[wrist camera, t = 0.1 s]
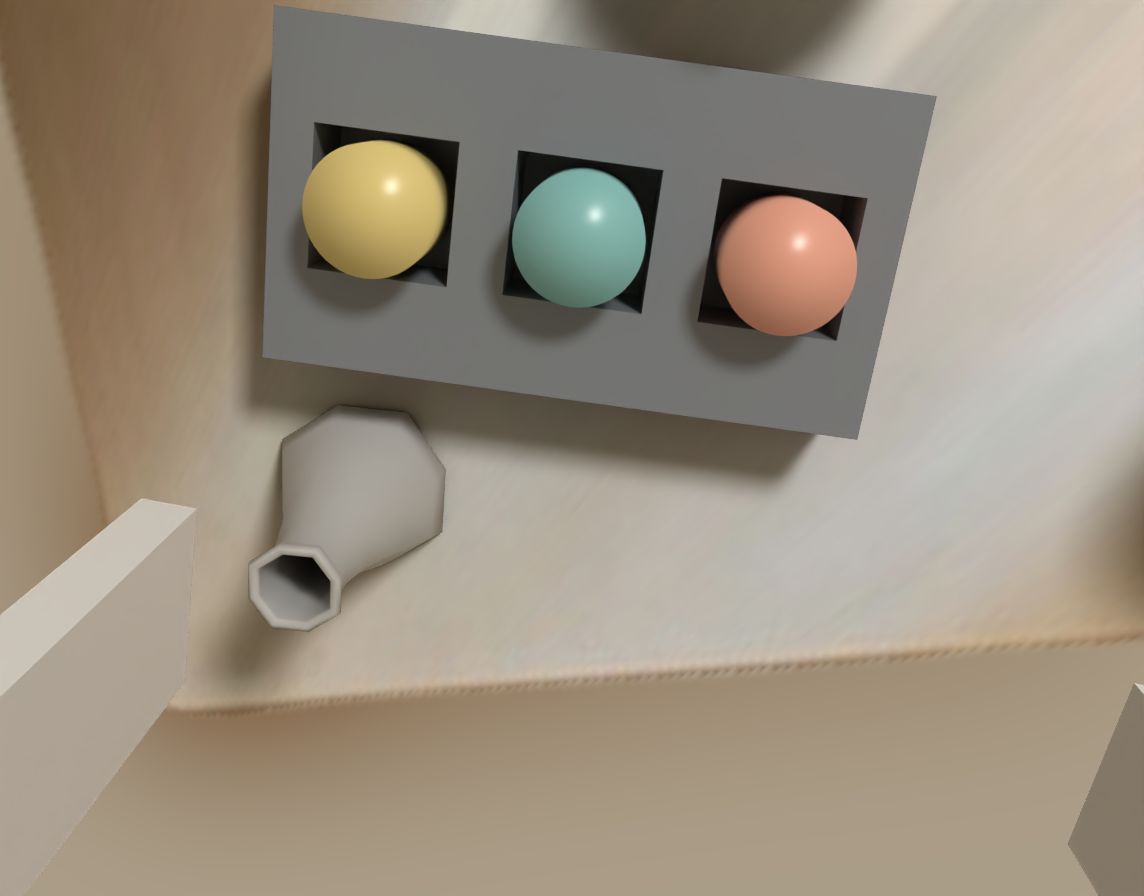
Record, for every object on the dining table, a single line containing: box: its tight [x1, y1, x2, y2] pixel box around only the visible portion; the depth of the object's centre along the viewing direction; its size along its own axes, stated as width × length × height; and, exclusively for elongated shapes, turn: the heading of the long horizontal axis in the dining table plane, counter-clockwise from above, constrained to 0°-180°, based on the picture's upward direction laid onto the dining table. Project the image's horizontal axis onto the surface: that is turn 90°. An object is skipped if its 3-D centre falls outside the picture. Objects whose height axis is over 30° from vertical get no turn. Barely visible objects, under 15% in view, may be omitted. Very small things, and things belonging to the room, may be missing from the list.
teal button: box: [512, 166, 646, 308], centre depth 36 cm, size 4×4×4 cm
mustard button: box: [302, 139, 452, 279], centre depth 36 cm, size 4×4×4 cm
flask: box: [248, 405, 446, 632], centre depth 39 cm, size 7×7×10 cm
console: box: [262, 5, 937, 440], centre depth 38 cm, size 12×22×4 cm, turn 83°
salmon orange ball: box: [713, 192, 857, 336], centre depth 36 cm, size 4×4×4 cm
